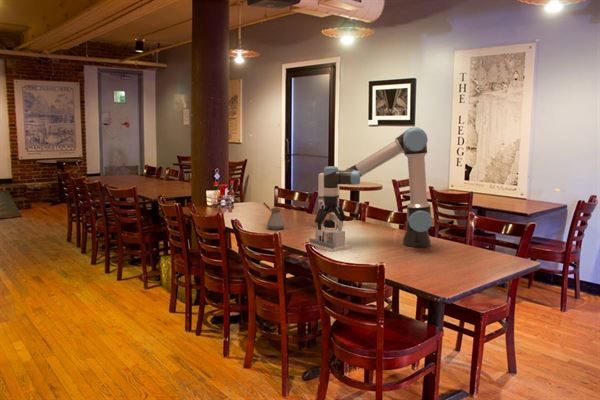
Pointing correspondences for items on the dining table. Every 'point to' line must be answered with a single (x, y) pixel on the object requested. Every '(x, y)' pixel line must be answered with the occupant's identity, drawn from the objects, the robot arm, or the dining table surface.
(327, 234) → the container
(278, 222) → the coffee pot
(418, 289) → the dining table surface
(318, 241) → the rail board
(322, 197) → the grey dispenser tower
